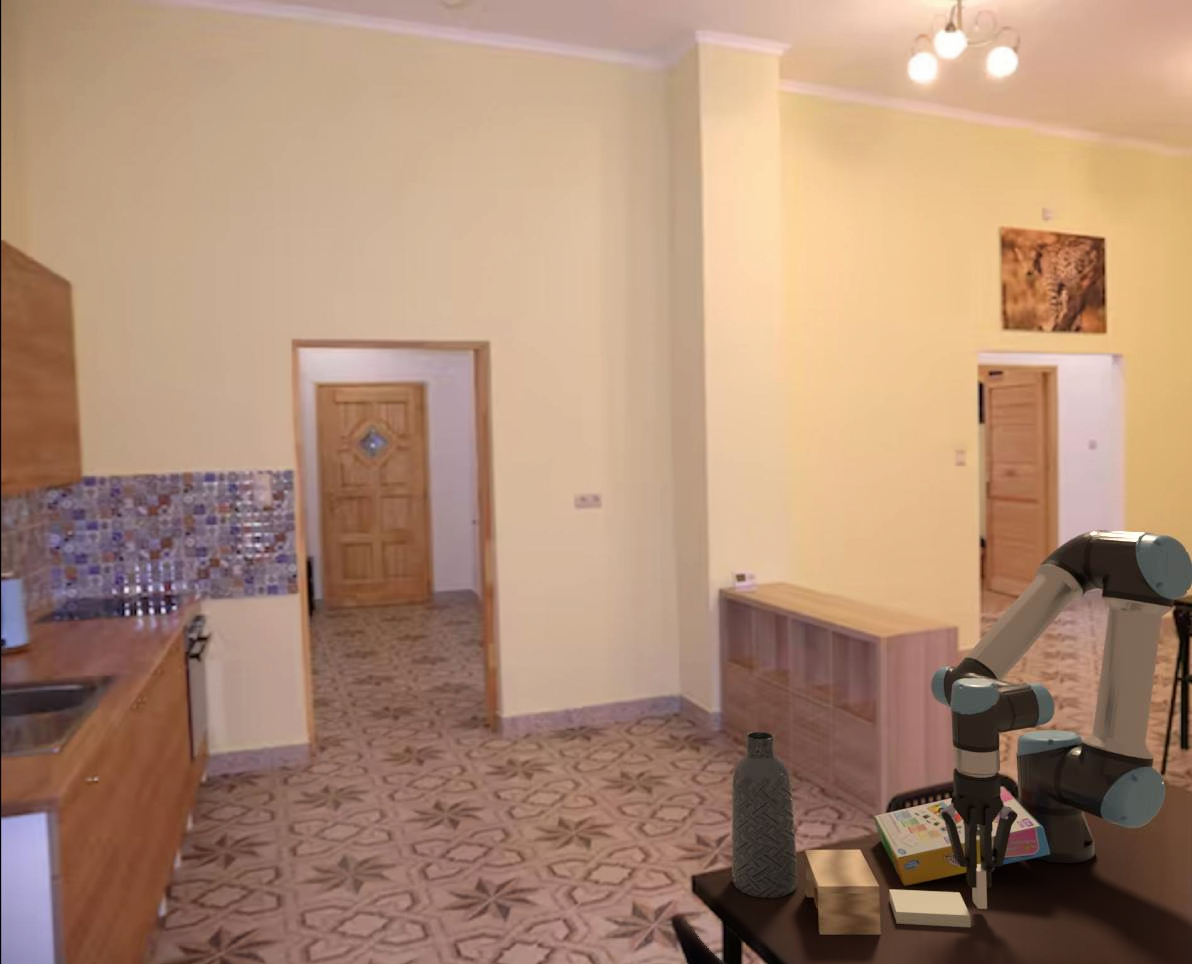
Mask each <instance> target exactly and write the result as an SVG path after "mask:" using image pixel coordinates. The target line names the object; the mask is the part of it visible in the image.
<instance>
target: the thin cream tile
mask: <svg viewBox="0 0 1192 964" xmlns="http://www.w3.org/2000/svg"><path fill="white" fill-rule="evenodd" d="M888 891H889V903H890V906H891V909H892V912H893V913H892V914H893V916H894V919H895V924H900V925H901V924H904V925H919V926H921V925H923V926H935V927H936V926H938V927H939V926H940V927H955V928H957V927H958V928H971V927H972V926H971V925H972V923H971V914H970V912H969V909H968V908H967V906H966V904H965V901H964V899H963V897H962V895H961V893H960V892H957V891H955V892H954V891H936V890H934V891H932V890H931V891H930V890H914V889H913V890H912V889H910V890H909V889H892V888H891V889H889V890H888Z"/></svg>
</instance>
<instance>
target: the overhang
mask: <svg viewBox="0 0 1192 964" xmlns="http://www.w3.org/2000/svg"><path fill="white" fill-rule="evenodd" d="M804 867H805V868H804V870H805V871H804V873H805V894H806V897H807V898H813V899H814V901H813V902H814V904H815V907H816V909H817V913H818V914H817V915H818V916H817V917H818V919H817V920H818V933H819V935H824V936H825V935H833V936H834V935H845V936H847V935H859V936H861V935H867V936H868V935H869V936H872V935H881V934H882V933H881V930H882V929H881V901H880V900H881V899H880V885H879V883H878V881H877V879H876V877H875V875H874V874H873V871H872V869H871V868H870V865H869V864H868V862H867V861H866V858H865V857H864V855H863V853H862V851H861V849H804Z"/></svg>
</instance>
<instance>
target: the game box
mask: <svg viewBox="0 0 1192 964" xmlns="http://www.w3.org/2000/svg"><path fill="white" fill-rule="evenodd" d="M1000 789H1001V794H1000V797H1001V799H1002V801H1003V804H1004V805H1005V806H1006V807H1010V808H1012V809H1013V810H1014V811H1015V812H1016V813H1017V818H1016V820H1015V821H1014V823H1013V824H1012V826H1011V831H1010V835H1009V840H1008V844H1007V849H1006V853H1005V857H1004V862H1003V865H1007V864H1012V863H1016V862H1021V861H1025V860H1031V859H1036V857H1041V856H1045V855H1050V850H1049V847H1048V843H1047V839H1046V835H1045V831H1044V828H1043V827H1042V826H1041V825H1040V824H1039V823H1038V822H1037V821H1036V820H1035V819H1034V818H1033V817H1032V816H1031V815H1030V814H1029V813H1028V812H1027V811H1026V810H1025V809H1024V808H1023V807H1022V806H1021V805H1020V804H1019V800H1017V799H1016V798H1015V796H1013V795H1012V794H1011V793H1010V792H1009V791H1008V789H1007V788H1006V787H1005V786H1000ZM952 798H953V797H952ZM952 798H951V797H950V798H946V799H941V800H938V801H934V802H929V803H925V804H924V803H923V804H920V805H915V806H912V807H908V808H903V809H898V810H895V811H890V812H886V813H881V814H875V815H874V816H873V818H874V819H873V820H874V823H875V826H876V830H877V834H878V837H879V840H880V842H881V844H882V846H883V848H884V850H885V852H886V854H887V855H888V857H889V859H890V861H891V863H892V865H893V867H894V869H895V871H896V873H897V876H898V877H899V879H900V881H901V883H902V885H903V887H908V886H913V885H917V884H921V883H924V882H930V881H933V880H939V879H943V878H947V877H948V878H949V877H953V876H958V875H961V874H966V867H961V866H960V865H959V863H958V862H957V861H956V860H955V857H954V854H953V850H952V846H951V843H950V839H949V836H948V832H947V828H946V825H945V821H944V819H943V818H942V817H941V815H940V814H939V812H938V809H939V808H941V807H942V808H946V807H947V806H949V805H950V804H951V800H952ZM999 818H1000V815H999V814H998V815H997V817H996V818H995V820H994V821H993V822H992V827H993V831H992V848H993V844H994V839H995V835H996V831H997V826H998V822H999ZM953 821H954V822H955V824H956V827H957V831H958V834H959V838H960V842H961V845H962V849H963V852H964V856H965V834H964V824H963V819H962V818H961V816H960V815H959V814H958V813H957V811H955V820H953ZM976 839H977V864H981V862H980V833H979V825H977V832H976ZM1003 865H1002V866H1003Z"/></svg>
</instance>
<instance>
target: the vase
mask: <svg viewBox="0 0 1192 964" xmlns="http://www.w3.org/2000/svg"><path fill="white" fill-rule="evenodd" d="M745 740H746V745H745V746H746V754H745V755H744V756H742V757H741V759H739V760H738V762H737V764H736V765H735V768H734V771H733V776H732V783H731V789H732V791H731V801H732V802H731V804H732V805H731V806H732V807H731V809H732V811H731V815H732V816H731V822H732V823H731V825H732V826H731V828H732V831H731V832H732V833H731V838H732V839H731V841H732V842H731V859H732V860H731V863H732V865H731V869H732V870H731V874H732V882H733V885H734V886H735V888H736V889H737V890H739V892H742V893H743V894H746V895H749V896H751V897H755V898H764V899H773V898H774V899H775V898H780V897H786V896H787V895H790V894H791V893H793V892H794V891H796V889H797V885H798V882H799V879H798V878H799V875H798V873H799V872H798V863H797V862H798V861H797V845H796V833H795V831H796V830H795V819H794V816H795V815H794V805H793V802H794V801H793V790H792V780H791V776H790V773H789V769H788V767H787V766H786V764H785V763H784V761H782V759H781V758H779V757H778V756H777V755H775V736H774V734H772V733H769V732H766V731H765V732H764V731H754V732H749V733H747V734H746V737H745Z"/></svg>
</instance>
